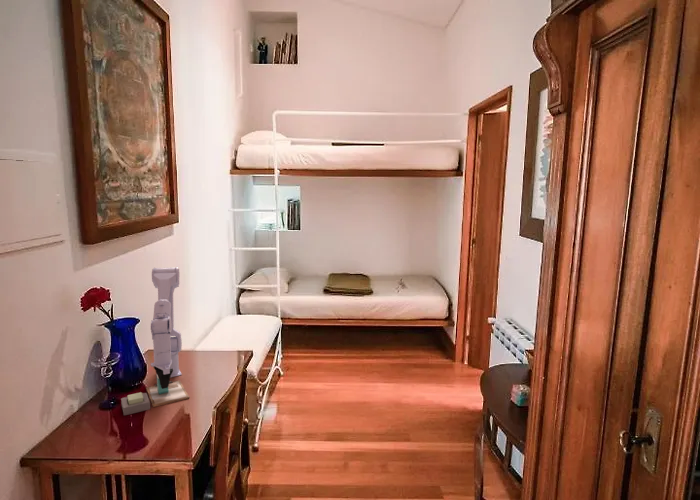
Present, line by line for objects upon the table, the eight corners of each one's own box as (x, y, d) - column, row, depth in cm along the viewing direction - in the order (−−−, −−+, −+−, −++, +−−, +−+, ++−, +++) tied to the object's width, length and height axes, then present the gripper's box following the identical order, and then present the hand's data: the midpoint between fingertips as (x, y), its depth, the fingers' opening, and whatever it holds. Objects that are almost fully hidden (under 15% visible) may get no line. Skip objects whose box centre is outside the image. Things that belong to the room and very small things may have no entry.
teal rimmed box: (157, 390, 155) (156, 372, 154) (167, 388, 157) (165, 370, 156) (158, 394, 152) (157, 376, 151) (168, 392, 154) (167, 373, 153)
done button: (127, 402, 146) (127, 395, 145) (141, 399, 148) (141, 392, 148) (129, 407, 142) (128, 400, 142) (143, 404, 144) (143, 397, 144)
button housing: (121, 405, 146) (121, 398, 146) (146, 399, 151) (146, 392, 150) (123, 415, 140) (123, 408, 139) (150, 409, 144) (149, 401, 144)
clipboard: (146, 389, 159) (146, 386, 158) (179, 381, 165) (179, 378, 165) (153, 407, 145) (152, 403, 145) (189, 398, 152) (189, 395, 152)
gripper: (147, 346, 157) (148, 380, 158) (153, 359, 145) (155, 396, 146) (167, 342, 160) (169, 376, 162) (175, 355, 148) (176, 391, 150)
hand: (163, 385), depth 155 cm, fingers closed on teal rimmed box, 3 cm apart
